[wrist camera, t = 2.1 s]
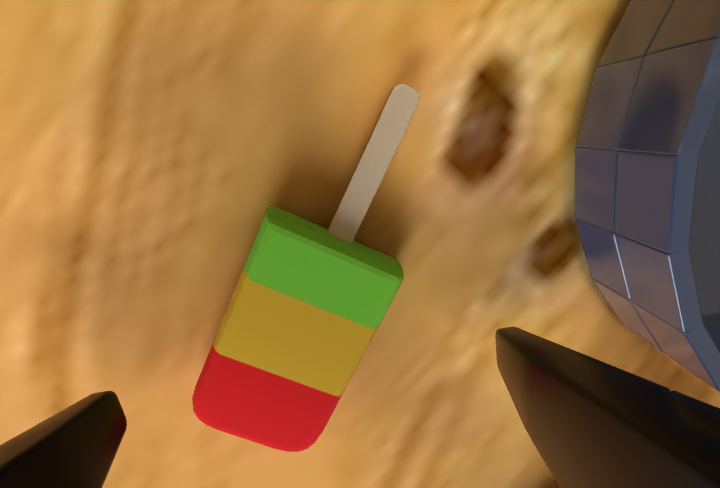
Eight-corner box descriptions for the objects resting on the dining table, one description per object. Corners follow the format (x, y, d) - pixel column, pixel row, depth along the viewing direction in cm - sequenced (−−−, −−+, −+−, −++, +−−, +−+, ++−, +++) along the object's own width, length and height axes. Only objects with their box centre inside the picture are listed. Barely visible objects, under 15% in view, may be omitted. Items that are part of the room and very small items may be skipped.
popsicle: (195, 391, 17) (177, 424, 15) (334, 52, 13) (333, 40, 11) (311, 431, 18) (308, 466, 16) (471, 123, 14) (491, 123, 12)
